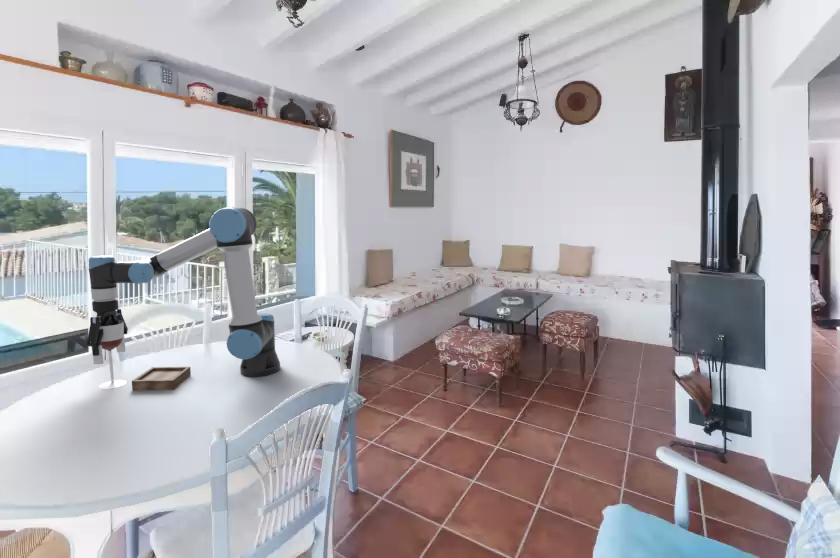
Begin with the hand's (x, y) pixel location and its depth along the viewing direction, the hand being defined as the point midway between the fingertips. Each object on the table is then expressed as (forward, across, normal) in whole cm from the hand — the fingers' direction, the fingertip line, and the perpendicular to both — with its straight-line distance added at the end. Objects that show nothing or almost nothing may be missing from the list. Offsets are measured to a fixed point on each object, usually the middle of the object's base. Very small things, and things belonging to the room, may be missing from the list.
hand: (110, 357), depth 158 cm
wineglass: (+10, 0, 0) cm, 10 cm away
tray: (+10, -1, +17) cm, 20 cm away
